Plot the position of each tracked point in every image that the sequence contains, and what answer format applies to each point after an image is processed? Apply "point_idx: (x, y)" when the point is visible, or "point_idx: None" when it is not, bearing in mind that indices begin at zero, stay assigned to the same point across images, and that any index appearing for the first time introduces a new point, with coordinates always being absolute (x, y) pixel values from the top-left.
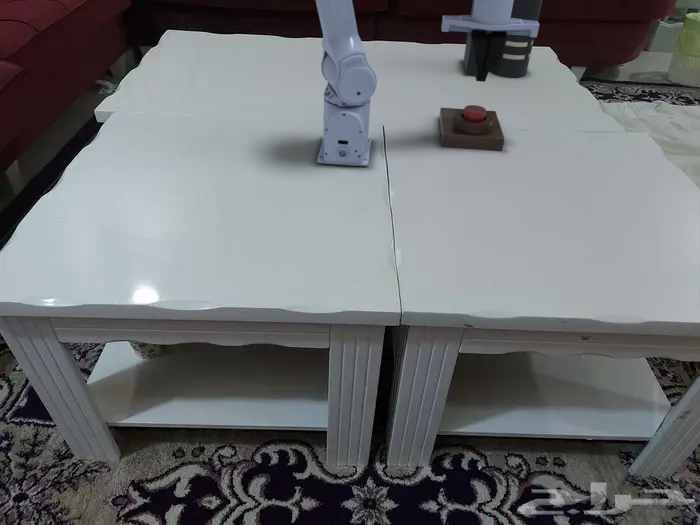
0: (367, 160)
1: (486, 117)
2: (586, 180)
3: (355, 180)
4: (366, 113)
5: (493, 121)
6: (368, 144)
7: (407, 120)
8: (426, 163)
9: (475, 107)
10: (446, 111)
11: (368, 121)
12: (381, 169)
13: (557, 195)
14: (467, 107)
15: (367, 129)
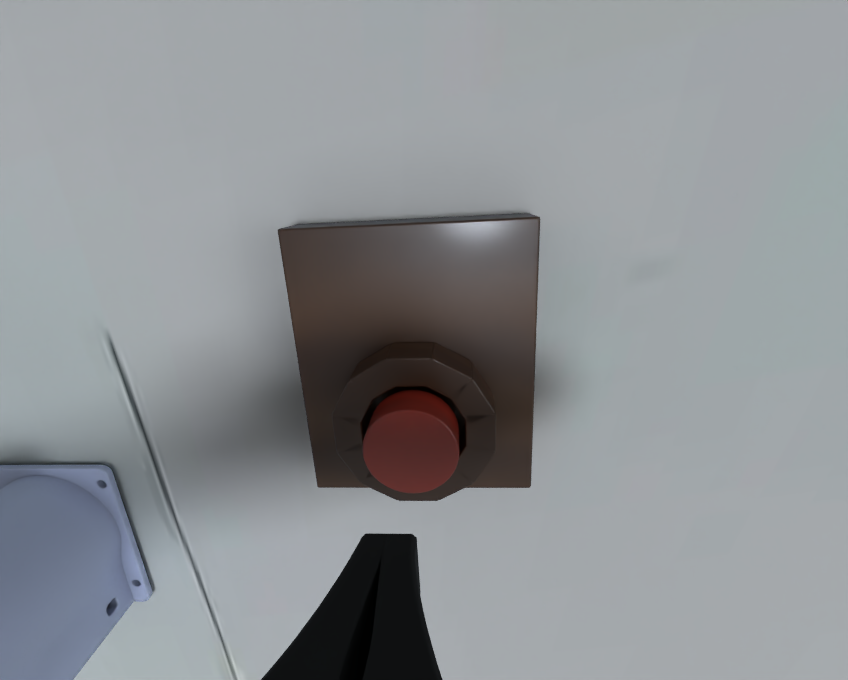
0: (142, 586)
1: (467, 431)
2: (740, 591)
3: (150, 642)
4: (10, 675)
5: (511, 345)
6: (112, 504)
7: (177, 267)
8: (295, 557)
9: (412, 438)
10: (307, 275)
11: (44, 619)
12: (191, 595)
13: (624, 658)
14: (375, 443)
15: (66, 600)
